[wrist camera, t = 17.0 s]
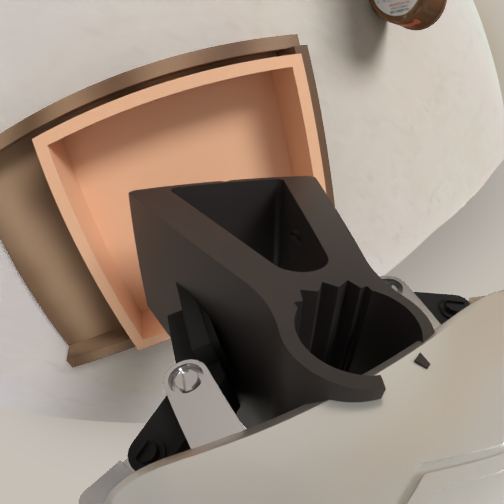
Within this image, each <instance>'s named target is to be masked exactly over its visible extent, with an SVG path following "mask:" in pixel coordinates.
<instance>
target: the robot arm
mask: <svg viewBox="0 0 504 504" xmlns="http://www.w3.org/2000/svg"><path fill="white" fill-rule="evenodd" d="M287 240H288V246H289V251H290V256H291V262H292V267H293V271H294V270H295V268H296V266H297V264H298V263H299V261H300V259H301V257H302V255H303V254H304V249H303V246H302V244H301V237H300V234H299V232H298V230H295V231H293V232H291V236H290V237H288V238H287ZM380 278H381V279H382V280H383V281H384V282H386V283H387V284H388V285H389V286H390V287H392V288H393V289H394V290H396V291H397V292H398V293H400V294H401V295H403V296H404V297H406V298H407V299H409V300H410V301H412V302H413V303H414V304H415V305H417V306H418V307H419V308H420V309H421V310H422V311H423V312H424V314H425V315H426V316H427V317H428V319H429V320H430V322H431V324H432V326H433V328H434V331H435V333H434V334H433V335H432V336H431V337H429V338H428V339H427V340H426V341H425V342H424V343H422V342H421V341H417V342H415V343H414V344H412V345H411V346H409V347H407V348H406V349H404V350H403V351H401V352H400V353H398V354H396V355H395V356H393V357H391V358H390V359H388V360H387V361H385V362H383V363H382V364H380V365H378V366H376V367H375V368H373V369H371V370H370V371H368V372H366V373H364V374H363V375H381V377H382V379H383V382H384V385H385V387H386V390H385V392H384V394H383V396H382V398H381V399H378V400H374V401H367V402H340V401H334V400H326V401H321V402H316V403H310V404H304V405H302V406H300V407H298V408H296V409H294V410H291V411H289V412H287V413H285V414H282V415H280V416H278V417H275V418H273V419H271V420H268V421H266V422H264V423H261V424H259V425H256V426H254V427H251V428H248V429H246V430H245V428H244V427H243V425H242V424H241V422H240V421H239V419H238V417H237V416H236V413H237V411H238V410H239V408H240V406H241V405H240V403H239V400H238V398H237V394H236V392H235V388H234V373H233V371H232V369H231V366H230V364H229V362H228V359H227V357H226V355H225V352H224V350H223V348H222V345H221V343H220V341H219V338H218V336H217V333H216V331H215V328H214V326H213V324H212V321H211V319H210V316H209V314H207V313H206V312H205V311H204V310H203V309H202V308H201V307H200V306H199V305H198V303H197V301H196V300H195V299H194V298H193V297H192V296H191V295H190V294H189V293H187V292H186V291H185V290H184V289H183V288H182V287H181V286H180V285H179V284H177V283H176V285H177V290H178V294H179V299H180V303H181V307H182V310H180V311H178V312H175V313H172V314H170V315H168V316H167V317H168V324H169V329H170V335H171V340H172V345H173V350H174V355H175V360H176V364H175V365H173V366H172V367H171V368H170V369H169V370H168V371H167V373H166V375H165V377H164V382H163V384H164V389H165V391H166V394H167V396H166V397H165V399H164V400H163V401H162V403H161V404H160V406H159V407H158V408H157V410H156V411H155V412H154V414H153V415H152V417H151V418H150V419H149V421H148V422H147V423H146V425H145V426H144V428H143V429H142V430H141V432H140V433H139V434H138V436H137V437H136V439H135V440H134V441H133V443H132V444H131V446H130V448H129V452H128V458H127V459H126V460H125V461H124V462H122V461H119V462H118V463H117V464H116V465H114V466H113V467H112V468H111V469H110V470H109V471H107V472H106V473H105V474H104V475H103V476H102V477H100V478H99V479H98V480H97V481H96V482H95V483H93V484H92V485H91V486H90V487H89V488H87V489H86V490H85V491H84V492H83V493H82V495H81V496H80V499H79V504H504V290H501V291H498V292H494V293H491V294H489V295H487V296H482V297H473V298H469V301H467V300H466V299H465V298H463V297H460V296H457V295H447V294H433V293H420V292H413V291H412V290H411V289H410V288H409V287H408V286H407V285H406V283H405V282H404V281H402V280H401V279H399V278H397V277H393V276H380ZM419 353H421V354H422V355H423V356H424V357H425V358H426V359H427V360H428V362H429V363H430V366H429V367H428V369H426V368H424V367H422V366H420V365H418V364H417V363H415V362H414V360H415V359H416V358H417V356H418V355H419Z"/></svg>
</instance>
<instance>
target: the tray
mask: <svg viewBox="0 0 504 504" xmlns="http://www.w3.org/2000/svg"><path fill="white" fill-rule="evenodd" d="M292 54H302V59H303V63H304V68H305V72H306V77H307V82H308V86H309V91H310V96H311V101H312V107H313V112H314V117H315V123H316V129H317V134H318V140H319V146H320V152H321V159H322V165H323V172H324V179H325V186H326V194H327V196H328V197H329V199H330V201H331V202H332V204H333V205H334V196H333V188H332V180H331V173H330V166H329V159H328V152H327V145H326V139H325V133H324V127H323V121H322V115H321V110H320V104H319V99H318V94H317V89H316V84H315V79H314V74H313V69H312V65H311V60H310V56H309V51H308V47H307V45H300V44H299V40H298V36H297V34H295V35H285V36H276V37H268V38H260V39H254V40H247V41H241V42H236V43H230V44H225V45H220V46H215V47H211V48H206V49H202V50H197V51H193V52H189V53H185V54H182V55H178V56H174V57H171V58H167V59H164V60H161V61H157V62H154V63H151V64H148V65H145V66H142V67H139V68H136V69H133V70H130V71H127V72H124V73H122V74H119V75H116V76H114V77H111V78H109V79H106V80H104V81H101V82H99V83H96V84H94V85H92V86H89V87H87V88H85V89H82V90H80V91H78V92H76V93H74V94H72V95H69V96H67V97H65V98H63V99H61V100H59V101H57V102H55V103H53V104H51V105H49V106H47V107H45V108H44V109H42V110H40V111H38V112H36V113H34V114H33V115H31V116H29V117H27V118H26V119H24V120H22V121H20V122H19V123H17V124H15V125H14V126H12V127H11V128H9V129H7V130H6V131H4V132H3V133H1V134H0V238H1V240H2V242H3V244H4V246H5V248H6V250H7V251H8V253H9V255H10V257H11V259H12V261H13V262H14V264H15V266H16V268H17V269H18V271H19V273H20V275H21V276H22V278H23V280H24V281H25V283H26V285H27V286H28V288H29V289H30V291H31V293H32V294H33V296H34V297H35V299H36V300H37V302H38V303H39V305H40V306H41V308H42V309H43V311H44V312H45V314H46V315H47V317H48V318H49V319H50V321H51V322H52V324H53V325H54V327H55V328H56V329H57V331H58V332H59V333H60V335H61V336H62V337H63V339H64V340H65V341H66V343H67V344H68V345H69V349H68V355H67V362H68V363H69V364H70V365H71V366H72V367H76V366H79V365H82V364H85V363H88V362H91V361H94V360H97V359H100V358H103V357H106V356H109V355H112V354H115V353H118V352H121V351H124V350H127V349H129V348H132V347H135V345H134V343H133V342H132V340H131V339H130V337H129V336H128V334H127V333H126V331H125V330H124V328H123V326H122V325H121V323H120V322H119V320H118V319H117V317H116V315H115V314H114V312H113V310H112V309H111V307H110V306H109V304H108V302H107V301H106V299H105V297H104V295H103V294H102V292H101V290H100V289H99V287H98V285H97V283H96V282H95V280H94V278H93V276H92V274H91V273H90V271H89V269H88V267H87V265H86V263H85V261H84V259H83V258H82V256H81V254H80V252H79V250H78V248H77V246H76V244H75V242H74V240H73V238H72V236H71V234H70V232H69V230H68V227H67V225H66V223H65V221H64V219H63V217H62V214H61V212H60V210H59V208H58V206H57V203H56V201H55V199H54V196H53V194H52V191H51V189H50V187H49V184H48V182H47V179H46V177H45V174H44V172H43V169H42V166H41V164H40V161H39V158H38V155H37V153H36V150H35V147H34V144H33V141H32V139H33V138H35V137H37V136H38V135H40V134H42V133H44V132H46V131H48V130H50V129H52V128H54V127H56V126H57V125H59V124H62V123H64V122H66V121H68V120H70V119H72V118H74V117H76V116H78V115H80V114H83V113H85V112H87V111H89V110H92V109H94V108H96V107H99V106H101V105H103V104H106V103H108V102H111V101H113V100H116V99H118V98H121V97H124V96H126V95H129V94H132V93H134V92H137V91H140V90H143V89H146V88H149V87H152V86H155V85H158V84H161V83H164V82H167V81H171V80H174V79H177V78H181V77H184V76H188V75H191V74H195V73H199V72H203V71H207V70H211V69H215V68H219V67H224V66H228V65H233V64H238V63H243V62H248V61H253V60H259V59H265V58H271V57H278V56H285V55H292ZM334 207H335V205H334Z"/></svg>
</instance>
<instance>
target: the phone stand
mask: <svg viewBox="0 0 504 504" xmlns="http://www.w3.org/2000/svg"><path fill="white" fill-rule="evenodd" d="M128 194H129V203H130V210H131V217H132V224H133V231H134V238H135V244H136V250H137V256H138V261H139V267H140V272H141V277H142V282H143V287H144V292H145V297H146V302H147V306H148V307H149V309H150V310H151V311H152V313H153V314H154V316H155V317H156V318H157V320H158V321H159V323H160V324H161V325H162V327H163V328H164V329H165V331H166V332H167V333H168V335H169V336H170V337H171V335H170V329H169V324H168V317H167V316H168V315H170V314H172V313H175V312H178V311H180V310H182V307H181V303H180V299H179V294H178V290H177V285H176V283H177V284H179V285H180V286H181V287H182V288H183V289H184V290H185V291H186V292H187V293H189V294H190V295H191V296H192V297H193V298H194V299H195V300H196V301H197V303H198V305H199V306H200V307H201V308H202V309H203V310H204V311H205V312H206V313H207V314H209V316H210V319H211V321H212V324H213V326H214V328H215V331H216V333H217V336H218V338H219V341H220V343H221V345H222V348H223V350H224V352H225V355H226V357H227V359H228V362H229V364H230V366H231V369H232V371H233V373H234V388H235V392H236V394H237V398H238V400H239V403H240V405H241V406H240V408H239V410H238V411H237V413H236V416H237V417H238V419H239V421H240V422H241V423H242V424H243V425H244V426H245V427H246V428H247V429H248V428H251V427H254V426H256V425H259V424H261V423H264V422H266V421H268V420H271V419H273V418H275V417H278V416H280V415H282V414H285V413H287V412H289V411H291V410H294V409H296V408H298V407H300V406H302V405H304V404H310V403H316V402H321V401H326V400H334V401H340V402H367V401H374V400H378V399H381V398H382V396H383V394H384V392H385V390H386V387H385V385H384V382H383V379H382V377H381V375H363V374H364V373H366V372H368V371H370V370H371V369H373V368H375V367H376V366H378V365H380V364H382V363H383V362H385V361H387V360H388V359H390V358H391V357H393V356H395V355H396V354H398V353H400V352H401V351H403V350H404V349H406V348H407V347H409V346H411V345H412V344H414V343H415V342H417V341H421V342H422V343H424V342H425V341H426V340H427V339H428V338H429V337H431V336H432V335H433V334H434V333H435V331H434V328H433V326H432V324H431V322H430V320H429V319H428V317H427V316H426V315H425V314H424V312H423V311H422V310H421V309H420V308H419V307H418V306H417V305H415V304H414V303H413V302H412V301H410V300H409V299H407V298H406V297H404V296H403V295H401V294H400V293H398V292H397V291H396V290H394V289H393V288H392V287H390V286H389V285H388V284H387V283H386V282H384V281H383V280H382V279H381V278H380V277H379V276H378V275H377V274H376V273H375V272H374V271H373V269H372V268H371V267H370V265H369V264H368V262H367V261H366V259H365V257H364V256H363V254H362V252H361V250H360V249H359V247H358V245H357V243H356V242H355V240H354V238H353V237H352V235H351V233H350V232H349V230H348V228H347V227H346V225H345V223H344V222H343V220H342V218H341V217H340V215H339V213H338V212H337V210H336V209H335V207H334V205H333V204H332V202H331V201H330V199H329V197H328V196H327V194H326V193H325V191H324V190H323V188H322V187H321V185H320V183H319V182H318V180H317V179H316V178H315V177H312V176H289V177H270V178H253V179H239V180H229V181H226V182H224V181H214V182H203V183H193V184H183V185H174V186H165V187H156V188H148V189H141V190H134V191H131V192H129V193H128ZM295 230H298V232H299V234H300V237H301V244H302V246H303V249H304V254H303V255H302V257H301V259H300V261H299V263H298V264H297V266H296V268H295V270H294V271H293V267H292V262H291V256H290V251H289V246H288V240H287V238H288V237H290V236H291V232H293V231H295ZM414 362H415V363H417V364H418V365H420V366H422V367H424V368H426V369H428V367H429V366H430V363H429V362H428V360H427V359H426V358H425V357H424V356H423V355H422V354H421V353H419V355H418V356H417V358H416V359H415V360H414Z"/></svg>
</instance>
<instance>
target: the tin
mask: <svg viewBox="0 0 504 504" xmlns="http://www.w3.org/2000/svg"><path fill="white" fill-rule="evenodd" d="M370 1H371V4H372V6H373V8H374V10H375V11H376V12H377V13H378V15H379V16H381V17H382V18H383V19H385V20H386V21H389V22H391V23H394V24H397V25H400V26H402V27H404V28H407V29H410V30H422V29H425V28H428V27H430V26H431V25H433V24H434V23H435V22H436V21H437V20H438V19H439V18H440V16H441V15H442V13H443V11H444V9H445V6H446V2H447V0H370Z"/></svg>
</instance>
